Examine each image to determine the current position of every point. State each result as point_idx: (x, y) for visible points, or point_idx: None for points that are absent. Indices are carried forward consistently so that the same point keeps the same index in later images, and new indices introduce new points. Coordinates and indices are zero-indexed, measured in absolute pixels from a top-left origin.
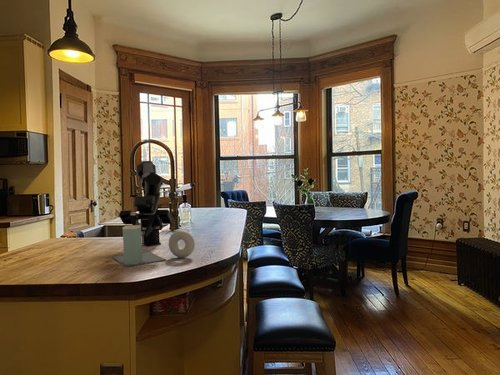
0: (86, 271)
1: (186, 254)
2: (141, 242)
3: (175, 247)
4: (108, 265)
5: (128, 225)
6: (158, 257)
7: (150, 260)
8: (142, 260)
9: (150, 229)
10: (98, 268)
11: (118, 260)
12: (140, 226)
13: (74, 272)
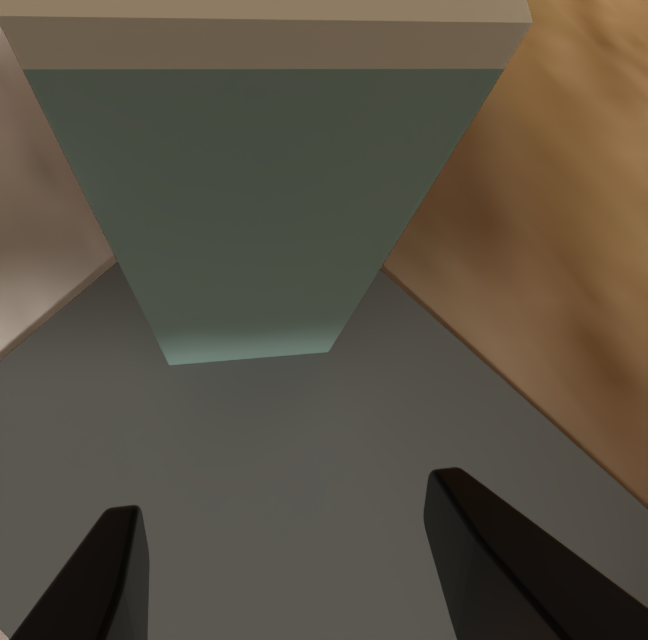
0: (533, 37)
1: None
2: (128, 274)
3: None
4: (481, 219)
5: (516, 4)
6: (16, 583)
7: (71, 399)
8: (169, 364)
9: None
10: (500, 120)
11: (485, 367)
12: (14, 10)
13: (606, 13)
